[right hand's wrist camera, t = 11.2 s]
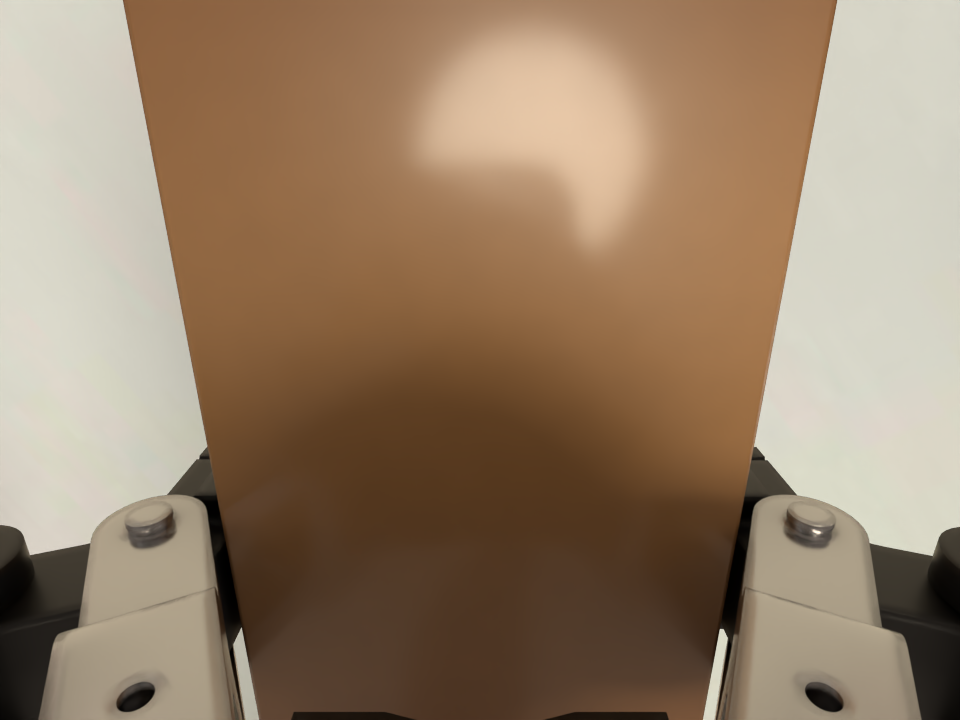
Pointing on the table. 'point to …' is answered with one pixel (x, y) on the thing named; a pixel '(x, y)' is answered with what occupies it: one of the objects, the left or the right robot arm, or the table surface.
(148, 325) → the table surface
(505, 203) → the box
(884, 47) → the table surface
